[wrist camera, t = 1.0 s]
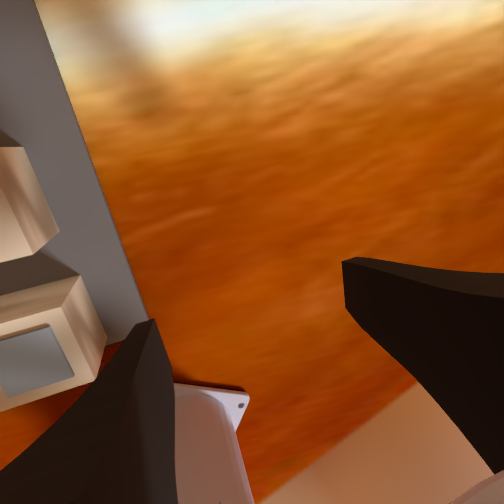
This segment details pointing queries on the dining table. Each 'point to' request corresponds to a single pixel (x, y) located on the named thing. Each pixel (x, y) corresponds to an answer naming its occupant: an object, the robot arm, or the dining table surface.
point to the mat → (60, 178)
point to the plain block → (22, 207)
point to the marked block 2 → (48, 341)
